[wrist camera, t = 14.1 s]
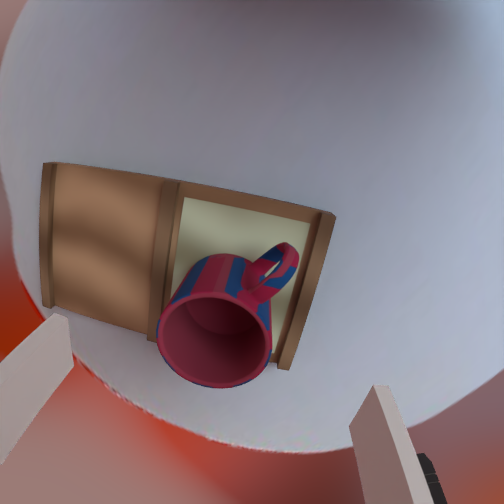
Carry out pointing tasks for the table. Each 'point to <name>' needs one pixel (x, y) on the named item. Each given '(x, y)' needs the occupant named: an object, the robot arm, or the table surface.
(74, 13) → the table surface
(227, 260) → the mug
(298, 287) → the brown divided flat frame
